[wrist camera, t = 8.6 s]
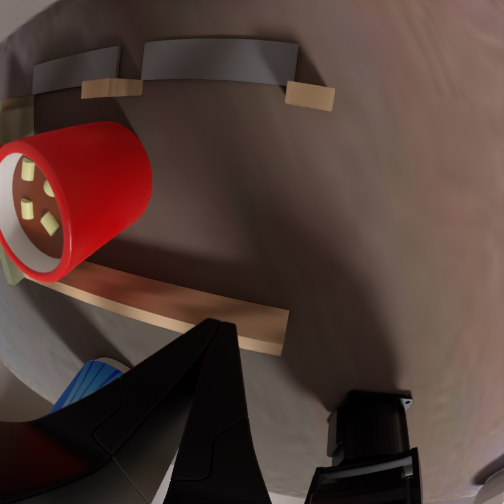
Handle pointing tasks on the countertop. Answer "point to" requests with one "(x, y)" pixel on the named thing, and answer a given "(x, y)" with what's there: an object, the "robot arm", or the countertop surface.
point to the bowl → (492, 490)
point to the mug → (69, 195)
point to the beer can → (90, 380)
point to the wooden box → (153, 68)
